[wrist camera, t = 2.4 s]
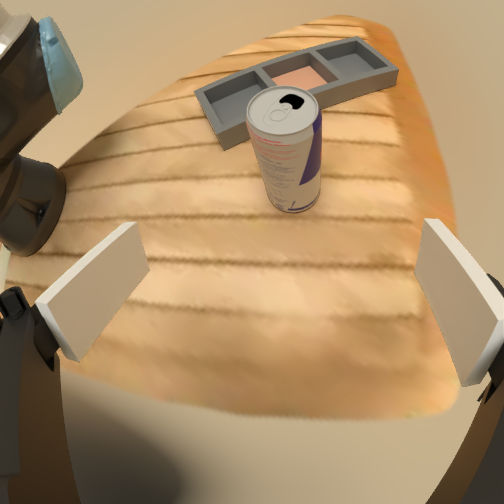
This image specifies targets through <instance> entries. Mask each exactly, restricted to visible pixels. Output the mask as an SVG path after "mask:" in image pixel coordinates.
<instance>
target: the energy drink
mask: <svg viewBox="0 0 504 504" xmlns="http://www.w3.org/2000/svg"><path fill="white" fill-rule="evenodd" d="M246 125H247V129H248V132H249V135H250V138H251V141H252V145H253V148H254V151H255V154H256V158H257V161H258V164H259V167H260V171H261V174H262V177H263V181H264V184H265V187H266V191H267V194H268V197H269V199H270V201H271V202H272V203H273V205H274V206H276V207H277V208H279V209H281V210H283V211H286V212H300V211H304V210H306V209H308V208H309V207H311V206H312V205H313V204H314V203H315V202H316V200H317V199H318V196H319V193H320V178H321V147H322V114H321V110H320V108H319V106H318V103H317V101H316V99H315V98H314V96H313V95H312V94H311V93H309V92H308V91H306V90H304V89H302V88H299V87H296V86H289V85H281V86H274V87H270V88H267V89H264V90H263V91H261V92H259V93H258V94H256V95H255V96H254V97H253V98H252V99H251V100H250V102H249V104H248V106H247V115H246Z"/></svg>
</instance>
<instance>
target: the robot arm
mask: <svg viewBox="0 0 504 504" xmlns="http://www.w3.org/2000/svg"><path fill="white" fill-rule="evenodd" d="M82 88H83V78H82V75H81V72H80V70H79V68H78V65H77V63H76V61H75V59H74V57H73V54H72V52H71V50H70V48H69V47H68V44H67V42H66V41H65V39H64V37H63V35H62V33H61V31H60V29H59V28H58V26H57V24H56V23H55V22H54V21H53V19H52V18H51V17H46V18H44V19H41V20H40V21H39V23H37V22H36V21H35V20H34V19H33V18H32V17H31V15H30V14H19V15H10V14H9V13H8V12H7V11H6V10H5V9H4V7H3V6H2V5H1V4H0V241H1V242H2V243H3V245H4V246H5V247H6V248H7V249H8V250H9V251H10V252H12V253H15V254H17V255H20V256H29V255H31V254H33V253H34V252H36V251H37V250H38V249H39V248H40V247H41V246H42V245H43V244H44V243H45V241H46V240H47V239H48V237H49V236H50V234H51V232H52V231H53V229H54V227H55V225H56V223H57V221H58V218H59V216H60V213H61V210H62V207H63V203H64V199H65V191H66V184H65V178H64V176H63V174H62V172H61V171H59V170H58V169H57V168H56V167H54V166H53V165H51V164H49V163H44V162H39V161H36V160H33V159H29V158H26V157H23V156H21V155H19V154H18V153H19V152H20V151H21V150H22V149H23V148H24V147H25V146H26V144H28V142H30V140H31V139H32V138H33V137H34V136H35V135H36V134H37V133H38V132H39V131H40V130H41V129H42V128H44V127H45V126H46V125H47V124H48V123H49V122H50V121H51V120H52V119H53V118H54V117H55V116H56V115H57V114H59V115H60V114H61V113H62V110H63V109H64V108H65V107H66V106H67V105H68V104H69V103H71V102H72V101H73V100H74V99H75V98H76V97H77V96H78V95H79V94H80V92H81V90H82ZM149 271H150V269H149V266H148V262H147V259H146V255H145V251H144V248H143V244H142V240H141V236H140V232H139V228H138V224H137V222H124V223H123V224H122V225H121V226H119V227H118V228H117V229H115V230H114V231H113V232H112V233H111V234H109V235H108V236H107V237H106V238H104V239H103V240H102V241H101V242H100V243H98V244H97V245H96V246H95V247H94V248H92V249H91V250H90V251H89V252H88V253H87V254H85V255H84V256H83V257H82V258H81V259H80V260H79V261H77V262H76V263H75V264H74V265H73V266H72V267H71V268H69V269H68V270H67V271H66V272H65V273H64V274H63V275H62V276H61V277H60V278H59V279H57V280H56V281H55V282H54V283H53V284H52V285H51V286H50V287H49V288H48V289H47V290H46V291H45V292H44V293H43V294H42V295H41V296H40V297H39V298H38V299H37V300H36V301H35V304H34V305H33V306H32V307H31V308H30V306H29V304H28V302H27V300H26V298H25V296H24V294H23V292H22V290H21V288H20V287H12V288H9V289H7V290H5V291H4V292H3V293H1V294H0V312H1V313H2V315H3V317H4V318H3V319H2V318H1V317H0V504H81V502H80V499H79V495H78V492H77V488H76V484H75V480H74V475H73V471H72V466H71V461H70V456H69V451H68V445H67V439H66V432H65V425H64V417H63V408H62V396H61V382H60V359H59V356H58V355H57V353H56V351H57V350H58V349H59V347H60V348H61V350H62V351H63V353H64V355H65V356H66V358H68V359H71V360H74V361H77V362H80V361H81V360H82V358H83V357H84V355H85V354H86V353H87V351H88V350H89V348H90V347H91V346H92V344H93V343H94V342H95V340H96V339H97V338H98V336H99V335H100V333H101V332H102V331H103V329H104V328H105V327H106V325H107V324H108V323H109V322H110V320H111V319H112V318H113V316H114V315H115V314H116V312H117V311H118V310H119V309H120V307H121V306H122V305H123V303H124V302H125V301H126V300H127V298H128V297H129V296H130V294H131V293H132V292H133V291H134V289H135V288H136V287H137V286H138V284H139V283H140V282H141V281H142V280H143V278H144V277H145V276H146V275H147V273H148V272H149ZM414 274H415V276H416V278H417V280H418V282H419V284H420V286H421V288H422V290H423V292H424V294H425V296H426V298H427V301H428V303H429V305H430V307H431V309H432V311H433V314H434V316H435V318H436V320H437V323H438V325H439V327H440V330H441V332H442V335H443V337H444V340H445V342H446V345H447V347H448V350H449V352H450V355H451V358H452V360H453V363H454V366H455V368H456V371H457V374H458V377H459V380H460V383H461V386H462V387H466V386H470V385H475V384H480V383H481V381H482V380H483V378H484V377H485V375H486V373H487V372H489V374H490V377H491V379H492V380H491V381H490V383H489V384H488V386H487V387H486V388H485V390H484V391H483V393H482V394H481V395H480V397H479V399H478V400H477V401H480V400H481V399H482V401H481V403H480V406H479V408H478V411H477V413H476V415H475V417H474V420H473V422H472V424H471V427H470V428H469V431H468V433H467V435H466V437H465V439H464V441H463V443H462V445H461V447H460V449H459V450H458V452H457V454H456V456H455V458H454V460H453V462H452V463H451V465H450V467H449V468H448V470H447V472H446V473H445V475H444V477H443V478H442V480H441V481H440V483H439V485H438V486H437V488H436V489H435V491H434V492H433V494H432V495H431V496H430V498H429V499H428V501H427V502H426V504H504V288H503V287H502V285H501V284H500V283H499V282H498V281H497V280H496V279H495V278H493V277H492V276H491V275H490V274H486V273H485V272H484V271H483V270H482V268H481V267H480V266H479V264H478V263H477V262H476V261H475V260H474V258H473V257H472V256H471V255H470V254H469V252H468V251H467V250H466V249H465V248H464V246H463V245H462V244H461V243H460V242H459V241H458V240H457V238H456V237H455V236H454V235H453V234H452V233H451V232H450V231H449V229H448V228H447V227H446V226H445V225H444V224H443V223H442V222H441V221H440V220H439V219H426V218H424V221H423V228H422V235H421V241H420V246H419V252H418V257H417V262H416V267H415V272H414Z"/></svg>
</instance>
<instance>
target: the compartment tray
mask: <svg viewBox="0 0 504 504" xmlns="http://www.w3.org/2000/svg"><path fill="white" fill-rule="evenodd" d="M398 71H399V69H398V68H397V67H396V66H395V65H393V64H392V63H391V62H390V61H389V60H388V59H386V58H385V57H384V56H383V55H381V54H380V53H379V52H378V51H376V50H375V49H374V48H373V47H371V46H370V45H369V44H367V43H366V42H365V41H363V40H362V39H361V38H359V37H358V36H356V37H352V38H347V39H342V40H338V41H333V42H329V43H325V44H321V45H318V46H314V47H310V48H307V49H303V50H300V51H296V52H293V53H290V54H287V55H283V56H280V57H277V58H274V59H271V60H268V61H266V62H263V63H260V64H257V65H255V66H252V67H249V68H247V69H244V70H241V71H239V72H236V73H234V74H231V75H229V76H227V77H224V78H222V79H220V80H217V81H215V82H213V83H211V84H208V85H206V86H204V87H202V88H200V89H197V90H195V91H194V93H195V95H196V97H197V99H198V101H199V103H200V105H201V107H202V109H203V111H204V113H205V115H206V117H207V119H208V121H209V123H210V125H211V126H212V128H213V130H214V132H215V134H216V136H217V138H218V140H219V142H220V144H221V146H222V148H223V150H227V149H229V148H231V147H233V146H235V145H237V144H239V143H242V142H244V141H246V140H248V139H250V135H249V132H248V129H247V125H246V115H247V106H248V104H249V102H250V100H251V99H252V98H253V97H254V96H255V95H256V94H258V93H259V92H261V91H263V90H264V89H267V88H270V87H274V86H281V85H289V86H296V87H299V88H302V89H304V90H306V91H308V92H309V93H311V94H312V95H313V96H314V98H315V99H316V101H317V103H318V106H319V108H320V110H321V109H324V108H327V107H330V106H333V105H335V104H338V103H341V102H344V101H347V100H350V99H353V98H356V97H359V96H362V95H365V94H369V93H372V92H375V91H378V90H382V89H385V88H388V87H392V86H395V85H396V80H397V76H398Z"/></svg>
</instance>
